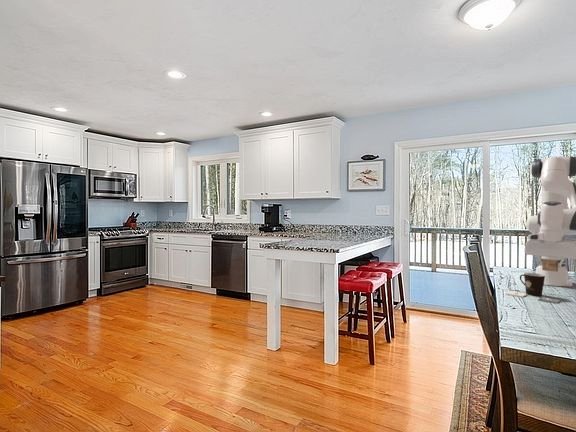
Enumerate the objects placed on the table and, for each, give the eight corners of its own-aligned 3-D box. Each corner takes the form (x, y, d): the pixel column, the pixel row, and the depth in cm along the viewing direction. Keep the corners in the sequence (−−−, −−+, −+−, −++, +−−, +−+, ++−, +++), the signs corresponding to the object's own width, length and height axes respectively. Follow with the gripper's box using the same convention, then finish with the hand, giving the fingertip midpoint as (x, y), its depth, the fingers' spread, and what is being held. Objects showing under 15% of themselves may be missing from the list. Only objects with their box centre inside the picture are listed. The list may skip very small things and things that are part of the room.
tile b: (510, 292, 181) (510, 291, 181) (526, 295, 176) (527, 293, 176) (506, 294, 176) (506, 293, 176) (522, 297, 171) (522, 296, 171)
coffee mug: (548, 297, 172) (548, 276, 171) (528, 296, 173) (528, 275, 173) (536, 291, 183) (536, 272, 183) (517, 290, 185) (518, 271, 184)
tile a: (542, 297, 170) (542, 296, 170) (560, 300, 165) (560, 299, 165) (538, 300, 166) (538, 299, 166) (556, 303, 160) (556, 302, 160)
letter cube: (544, 269, 168) (545, 259, 168) (557, 271, 164) (558, 260, 165) (542, 270, 165) (542, 259, 165) (555, 271, 161) (556, 260, 161)
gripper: (581, 238, 159) (580, 268, 159) (528, 234, 174) (527, 263, 175) (578, 238, 155) (577, 270, 155) (523, 235, 170) (523, 264, 170)
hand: (550, 266), depth 165 cm, fingers closed on letter cube, 5 cm apart
